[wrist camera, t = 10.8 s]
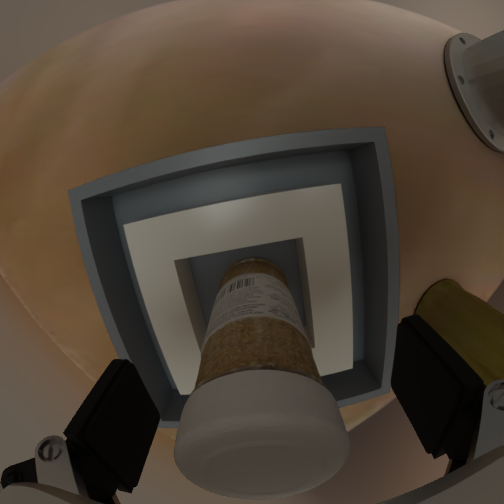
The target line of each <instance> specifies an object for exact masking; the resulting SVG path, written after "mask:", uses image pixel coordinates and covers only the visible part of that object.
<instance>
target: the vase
mask: <svg viewBox="0 0 504 504" xmlns="http://www.w3.org/2000/svg"><path fill="white" fill-rule="evenodd" d="M415 314H418V315H419V316H421V317H422V318H423V319H424V320H425V321H426V322H427V323H428V324H429V325H430V326H431V327H432V328H433V329H434V330H435V331H436V332H437V333H438V334H439V335H440V336H441V337H442V338H443V339H444V340H445V341H446V342H447V343H448V344H449V345H450V346H451V347H452V348H453V349H454V350H455V351H456V352H457V353H458V354H459V355H460V356H461V357H462V358H463V359H464V360H465V361H466V362H467V363H468V364H469V365H470V367H471V368H472V369H473V370H474V371H475V372H476V373H477V374H478V375H479V376H480V377H481V378H482V380H483V381H484V384H485V385H486V387H487V386H488V385H489V384H490V383H491V382H493V381H496V380H500V379H504V314H502V313H501V312H499V311H498V310H496V309H495V308H493V307H492V306H491V305H489V304H488V303H486V302H485V301H483V300H481V299H480V298H478V297H476V296H474V295H473V294H471V293H469V292H467V291H465V290H464V289H463V288H462V287H461V286H460V285H459V284H458V283H457V282H455V281H453V280H449V279H447V280H443V281H440V282H438V283H437V284H435V285H433V286H432V287H431V288H430V289H429V290H428V291H427V292H426V293H425V295H424V296H423V298H422V299H421V301H420V302H419V305H418V307H417V309H416V312H415Z"/></svg>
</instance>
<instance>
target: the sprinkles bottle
mask: <svg viewBox="0 0 504 504" xmlns="http://www.w3.org/2000/svg"><path fill="white" fill-rule="evenodd" d="M349 449H350V444H349V438H348V434H347V431H346V428H345V425H344V422H343V419H342V416H341V413H340V411H339V408H338V405H337V403H336V400H335V398H334V397H333V395H332V394H331V392H330V391H328V390H327V389H326V386H325V385H324V384H323V382H322V380H321V377H320V375H319V372H318V369H317V366H316V363H315V361H314V358H313V353H312V348H311V345H310V343H309V340H308V338H307V335H306V332H305V330H304V327H303V325H302V322H301V319H300V316H299V314H298V311H297V308H296V306H295V303H294V300H293V298H292V295H291V293H290V291H289V290H288V284H287V281H286V278H285V275H284V273H283V272H282V270H281V269H280V268H279V267H278V266H277V265H276V264H275V263H273V262H271V261H269V260H267V259H263V258H259V257H248V258H245V259H241V260H239V261H237V262H235V263H233V264H232V265H231V266H230V267H229V268H228V269H227V270H226V271H225V272H224V274H223V276H222V279H221V281H220V284H219V293H218V295H217V297H216V300H215V303H214V307H213V310H212V313H211V317H210V320H209V324H208V328H207V331H206V335H205V339H204V342H203V346H202V350H201V362H200V367H199V372H198V376H197V380H196V384H195V388H194V390H193V391H192V392H191V394H190V397H189V398H188V400H187V402H186V404H185V405H184V408H183V411H182V414H181V418H180V422H179V427H178V431H177V436H176V441H175V447H174V458H175V462H176V465H177V466H178V468H179V470H180V471H181V472H182V474H183V475H184V476H185V477H186V478H187V479H188V480H190V481H191V482H193V483H194V484H196V485H198V486H199V487H201V488H203V489H205V490H207V491H210V492H213V493H216V494H219V495H223V496H227V497H233V498H239V499H252V500H262V499H275V498H281V497H287V496H291V495H295V494H298V493H302V492H305V491H307V490H310V489H312V488H314V487H316V486H318V485H320V484H322V483H324V482H325V481H327V480H328V479H330V478H331V477H332V476H334V475H335V474H336V473H337V472H338V471H339V470H340V468H341V467H342V466H343V465H344V463H345V461H346V459H347V457H348V455H349Z"/></svg>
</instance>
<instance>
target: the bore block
mask: <svg viewBox="0 0 504 504" xmlns="http://www.w3.org/2000/svg"><path fill="white" fill-rule="evenodd" d="M123 226H124V230H125V235H126V239H127V243H128V247H129V251H130V255H131V258H132V262H133V266H134V269H135V273H136V276H137V280H138V283H139V286H140V290H141V293H142V296H143V299H144V302H145V305H146V308H147V311H148V314H149V317H150V320H151V323H152V326H153V329H154V331H155V334H156V337H157V340H158V342H159V345H160V347H161V350H162V353H163V355H164V358H165V360H166V363H167V365H168V367H169V370H170V372H171V375H172V377H173V379H174V382H175V384H176V386H177V388H178V391H179V393H180V395H187V394H191V392H192V391H193V390H194V388H195V384H196V380H197V376H198V372H199V367H200V362H201V350H202V346H203V342H204V339H205V335H206V331H207V328H206V325H205V321H204V318H203V314H202V310H201V307H200V303H199V299H198V296H197V292H196V288H195V284H194V280H193V276H192V272H191V268H190V264H189V260H188V258H189V257H195V256H200V255H206V254H211V253H217V252H222V251H228V250H233V249H239V248H244V247H250V246H255V245H261V244H267V243H272V242H278V241H283V240H289V239H295V241H296V248H297V255H298V262H299V270H300V277H301V285H302V293H303V301H304V309H305V318H306V325H305V326H303V327H304V330H305V332H306V335H307V338H308V340H309V343H310V345H311V348H312V353H313V358H314V361H315V363H316V366H317V369H318V372H319V375H320V376H324V375H328V374H332V373H337V372H341V371H344V370H348V369H352V368H353V311H352V288H351V271H350V258H349V247H348V236H347V227H346V218H345V210H344V203H343V195H342V188H341V183H333V184H319V185H312V186H305V187H299V188H292V189H286V190H280V191H274V192H268V193H262V194H256V195H251V196H245V197H240V198H234V199H229V200H224V201H219V202H214V203H209V204H204V205H199V206H194V207H190V208H185V209H181V210H176V211H172V212H167V213H163V214H159V215H154V216H150V217H146V218H142V219H139V220H136V221H133V222H130V223H127V224H125V225H123Z"/></svg>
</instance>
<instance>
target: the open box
mask: <svg viewBox="0 0 504 504" xmlns="http://www.w3.org/2000/svg"><path fill="white" fill-rule="evenodd" d="M333 183H341V188H342V195H343V203H344V210H345V218H346V227H347V236H348V247H349V258H350V271H351V288H352V311H353V368H352V369H348V370H344V371H341V372H337V373H332V374H328V375H324V376H320V377H321V380H322V382H323V384H324V385H325V386H326V389H327V390H328V391H330V392H331V394H332V395H333V397H334V398H335V400H336V403H337V405H338V408H340V407H344V406H348V405H351V404H355V403H358V402H362V401H365V400H368V399H371V398H374V397H377V396H380V395H383V394H386V393H389V392H390V388H391V375H392V368H393V361H394V353H395V344H396V334H397V326H398V316H399V291H400V258H399V233H398V218H397V207H396V197H395V188H394V181H393V173H392V167H391V160H390V154H389V149H388V143H387V138H386V133H385V128H384V127H361V128H343V129H329V130H318V131H308V132H299V133H291V134H283V135H276V136H269V137H262V138H256V139H250V140H244V141H239V142H233V143H228V144H223V145H218V146H213V147H209V148H204V149H200V150H195V151H191V152H187V153H183V154H179V155H175V156H171V157H167V158H164V159H160V160H156V161H153V162H149V163H146V164H142V165H139V166H136V167H133V168H129V169H126V170H123V171H120V172H117V173H114V174H111V175H108V176H105V177H102V178H100V179H97V180H94V181H91V182H89V183H86V184H83V185H81V186H78V187H75V188H73V189H70V190H68V193H69V199H70V204H71V210H72V215H73V220H74V224H75V229H76V233H77V237H78V241H79V245H80V249H81V253H82V257H83V260H84V264H85V267H86V271H87V274H88V277H89V281H90V284H91V287H92V290H93V293H94V296H95V299H96V302H97V304H98V307H99V310H100V313H101V315H102V318H103V320H104V323H105V326H106V328H107V331H108V333H109V335H110V338H111V340H112V343H113V345H114V347H115V349H116V352H117V354H118V356H119V358H120V359H128V360H129V361H130V362H131V363H133V364H134V365H135V367H136V369H137V371H138V373H139V375H140V377H141V379H142V381H143V383H144V385H145V387H146V389H147V391H148V393H149V395H150V396H151V398H152V400H153V402H154V404H155V406H156V407H157V409H158V411H159V413H160V422H159V425H158V427H159V428H178V427H179V422H180V418H181V414H182V411H183V408H184V405H185V404H186V402H187V400H188V398H189V397H190V394H187V395H180V393H179V391H178V388H177V386H176V384H175V382H174V379H173V377H172V375H171V372H170V370H169V367H168V365H167V363H166V360H165V358H164V355H163V353H162V350H161V347H160V345H159V342H158V340H157V337H156V334H155V331H154V329H153V326H152V323H151V320H150V317H149V314H148V311H147V308H146V305H145V302H144V299H143V296H142V293H141V290H140V286H139V283H138V280H137V276H136V273H135V269H134V266H133V262H132V258H131V255H130V251H129V247H128V243H127V239H126V235H125V230H124V226H123V225H125V224H127V223H130V222H133V221H136V220H139V219H142V218H146V217H150V216H154V215H159V214H163V213H167V212H172V211H176V210H181V209H185V208H190V207H194V206H199V205H204V204H209V203H214V202H219V201H224V200H229V199H234V198H240V197H245V196H251V195H256V194H262V193H268V192H274V191H280V190H286V189H292V188H299V187H305V186H312V185H319V184H333ZM248 257H259V258H263V259H267V260H269V261H271V262H273V263H275V264H276V265H277V266H278V267H279V268H280V269H281V270H282V272H283V273H284V275H285V278H286V281H287V284H288V290H289V291H290V293H291V295H292V298H293V300H294V303H295V306H296V308H297V311H298V314H299V316H300V319H301V322H302V325H303V326H305V325H306V318H305V309H304V301H303V293H302V285H301V277H300V270H299V262H298V255H297V248H296V241H295V239H289V240H283V241H278V242H272V243H267V244H261V245H255V246H250V247H244V248H239V249H233V250H228V251H222V252H217V253H211V254H206V255H200V256H195V257H189V258H188V260H189V264H190V268H191V272H192V276H193V280H194V284H195V288H196V292H197V296H198V299H199V303H200V307H201V310H202V314H203V318H204V321H205V325H206V328H208V324H209V320H210V317H211V313H212V310H213V307H214V303H215V300H216V297H217V295H218V293H219V284H220V281H221V279H222V276H223V274H224V272H225V271H226V270H227V269H228V268H229V267H230V266H231V265H232V264H233V263H235V262H237V261H239V260H241V259H245V258H248Z"/></svg>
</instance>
